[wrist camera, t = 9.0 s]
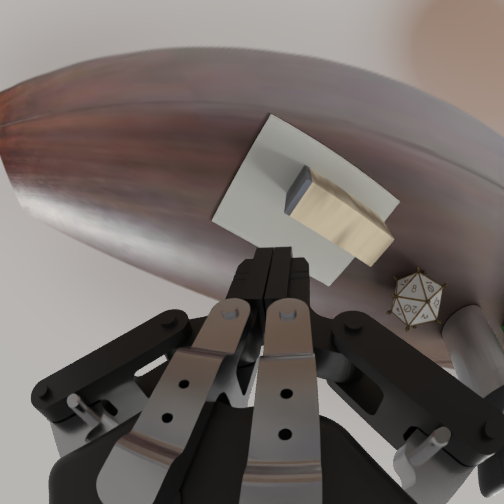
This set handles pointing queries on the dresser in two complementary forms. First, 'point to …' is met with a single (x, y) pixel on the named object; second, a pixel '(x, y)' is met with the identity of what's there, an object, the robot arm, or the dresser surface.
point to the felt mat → (274, 196)
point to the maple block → (337, 216)
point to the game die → (417, 299)
